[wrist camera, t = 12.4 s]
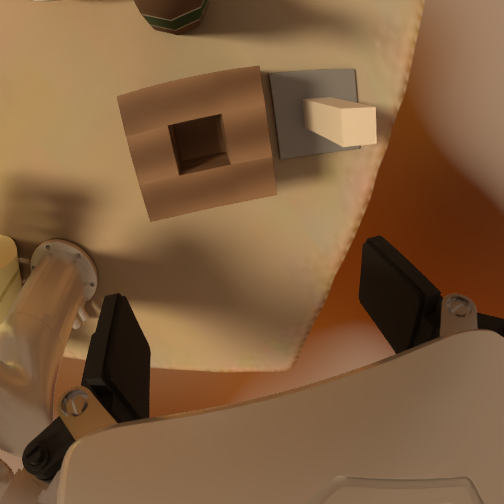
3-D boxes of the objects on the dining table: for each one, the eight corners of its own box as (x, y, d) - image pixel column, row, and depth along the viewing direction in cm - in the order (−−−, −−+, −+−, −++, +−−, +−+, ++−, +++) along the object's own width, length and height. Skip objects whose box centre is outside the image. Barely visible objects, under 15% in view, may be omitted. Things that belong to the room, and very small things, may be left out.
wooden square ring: (259, 169, 42) (276, 194, 34) (159, 190, 41) (150, 221, 33) (244, 69, 35) (259, 65, 26) (135, 92, 34) (116, 96, 25)
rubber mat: (357, 148, 43) (359, 148, 42) (279, 158, 42) (280, 159, 41) (352, 68, 36) (354, 68, 36) (268, 73, 35) (269, 73, 35)
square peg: (332, 124, 40) (376, 143, 30) (305, 127, 39) (343, 147, 29) (330, 97, 38) (375, 107, 27) (302, 99, 37) (340, 108, 27)
